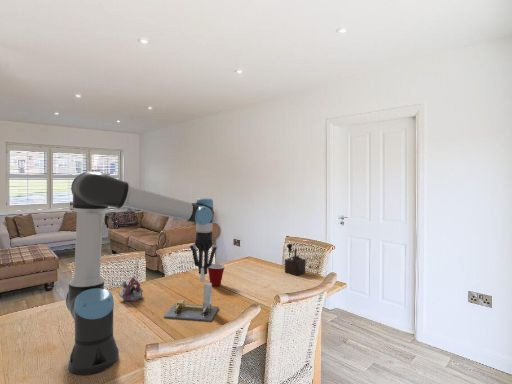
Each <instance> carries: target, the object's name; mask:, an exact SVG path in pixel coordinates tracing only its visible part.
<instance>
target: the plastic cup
mask: <svg viewBox="0 0 512 384" xmlns="http://www.w3.org/2000/svg"><path fill="white" fill-rule="evenodd" d="M225 268H226V265H224V264H222V263H212V265H211V266H210V267H208V268H207V273H208V279H209V283H212V288H218V287H220V286H221V284H222V279H223V275H224V270H225Z"/></svg>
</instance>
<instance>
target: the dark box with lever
mask: <svg viewBox="0 0 512 384" xmlns="http://www.w3.org/2000/svg"><path fill="white" fill-rule="evenodd" d="M286 248H287V249H288V251H287V252H288V253H290V254H291V253H292V254H293V253H294V255H293V256H291V257H289V258H285V259H284V273H285V274H288V275H292V276H295V277H298V276H301V275H304V274H306V266H307V265H306V262H307V261H306V259H305V258H302V257H300V256H299V255H297V252H298V251H297V248H295V249H294V250H293V244H292V243H288V244H286Z"/></svg>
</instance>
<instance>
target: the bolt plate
mask: <svg viewBox="0 0 512 384" xmlns="http://www.w3.org/2000/svg"><path fill="white" fill-rule="evenodd" d="M176 304H177V303H174V304H173V305H172V306H171V307H170V309H168V311H166V312H165V314H164V315H163V318H164V319H176V320H190V321H202V322H212V321H213V320H214V318H215V316H216V314H217V313H218V311H219V308H220V306H213V305H212V307H213V310H212V311H209V312H206V314H204V312H203V310H191V309H182V310H178V312H177V310H175V305H176ZM185 305H191V306H203V304H202V305H200V304H186V303H185Z"/></svg>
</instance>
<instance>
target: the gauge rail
mask: <svg viewBox="0 0 512 384" xmlns="http://www.w3.org/2000/svg"><path fill="white" fill-rule="evenodd" d="M175 304H176V305H175V310H177V312H178V310H182V309H191V310H203V305H202V306H191V305H192V304H189V305H185V304H186V302H185V299H179V300H178V301H177V303H175ZM212 310H213V307H210V311H212Z"/></svg>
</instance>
